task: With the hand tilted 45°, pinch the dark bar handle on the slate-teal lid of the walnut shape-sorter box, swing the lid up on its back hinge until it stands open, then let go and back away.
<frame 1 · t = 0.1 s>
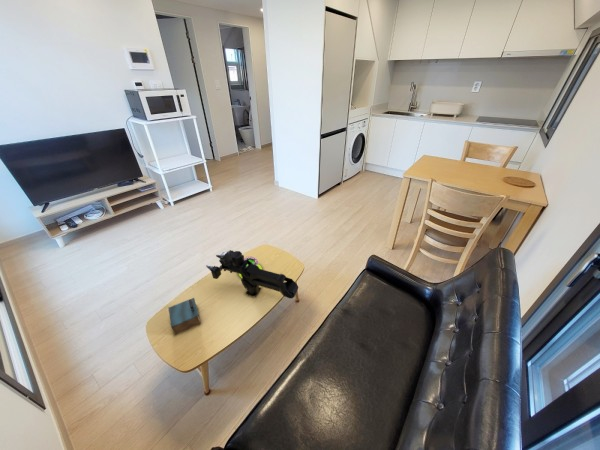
hand: (211, 260, 138), 17 cm above the table, tool horizontal, fingers open, 9 cm apart
sorter box: (186, 319, 124), on the table
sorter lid: (182, 309, 120), point 8 cm above the table, hinge at 0.0°
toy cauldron: (250, 271, 154), on the table
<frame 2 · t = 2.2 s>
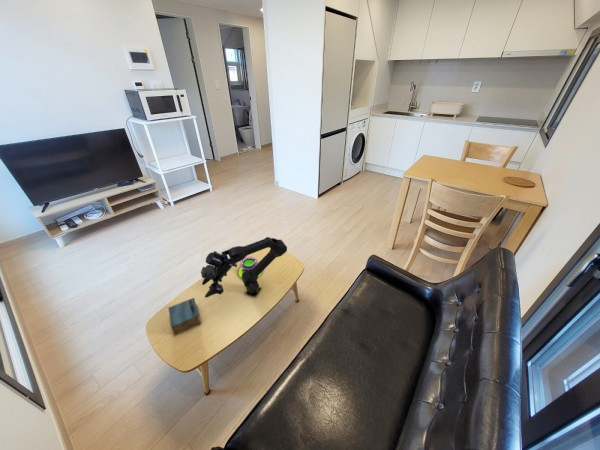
hand: (203, 290, 123), 14 cm above the table, tool tilted 50°, fingers open, 9 cm apart
nothing on the table moved.
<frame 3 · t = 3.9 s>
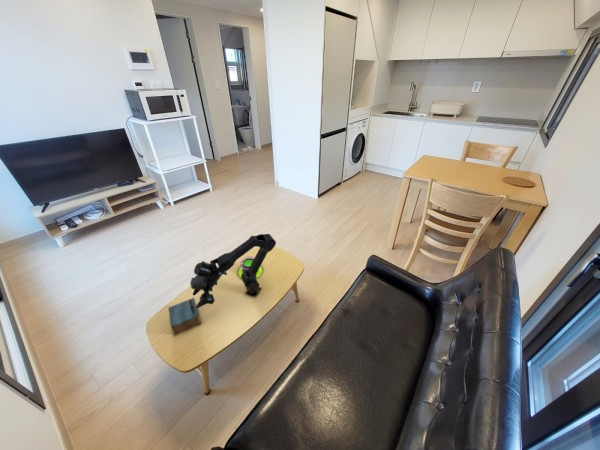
hand: (195, 301, 121), 11 cm above the table, tool tilted 45°, fingers open, 9 cm apart
nothing on the table moved.
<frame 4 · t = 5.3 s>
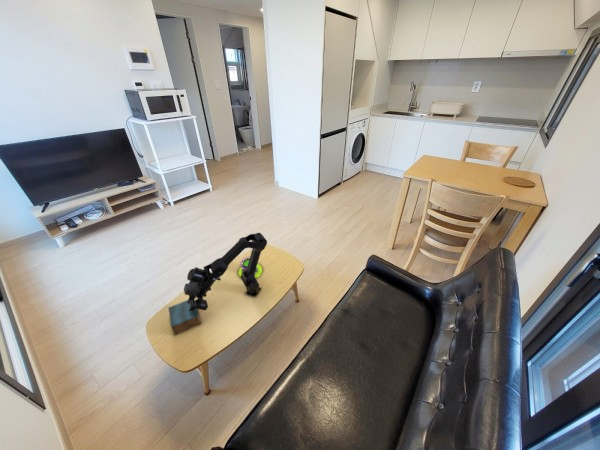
hand: (189, 306, 121), 8 cm above the table, tool tilted 45°, fingers closed on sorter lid, 5 cm apart
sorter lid: (182, 309, 120), point 8 cm above the table, hinge at 0.0°, touching gripper
everything else where it was.
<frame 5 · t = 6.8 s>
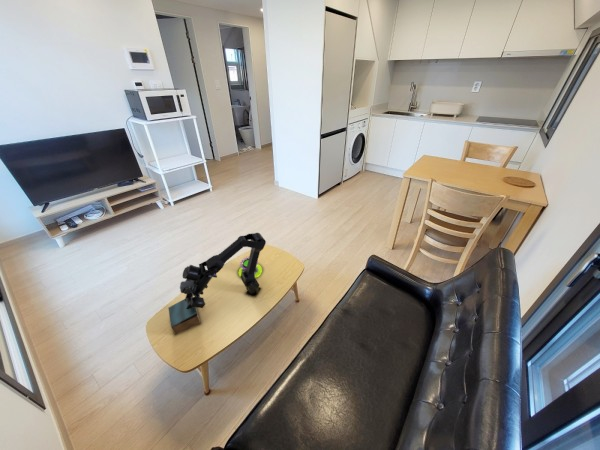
hand: (186, 304, 120), 10 cm above the table, tool tilted 40°, fingers closed on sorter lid, 5 cm apart
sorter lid: (180, 308, 119), point 10 cm above the table, hinge at 11.5°, touching gripper
everything else where it was.
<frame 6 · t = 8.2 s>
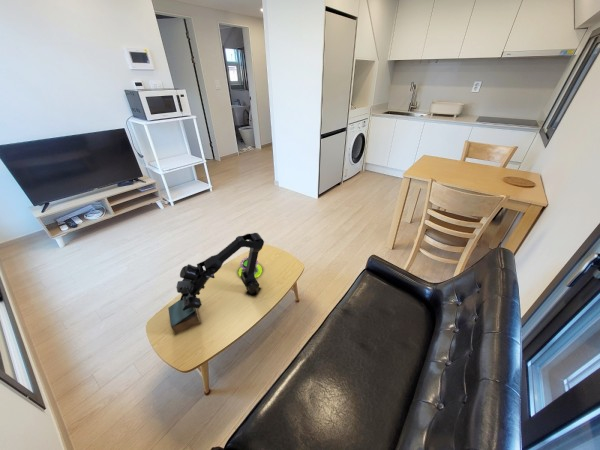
hand: (182, 305, 118), 12 cm above the table, tool tilted 45°, fingers open, 7 cm apart
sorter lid: (178, 307, 118), point 11 cm above the table, hinge at 21.6°
everything else where it was.
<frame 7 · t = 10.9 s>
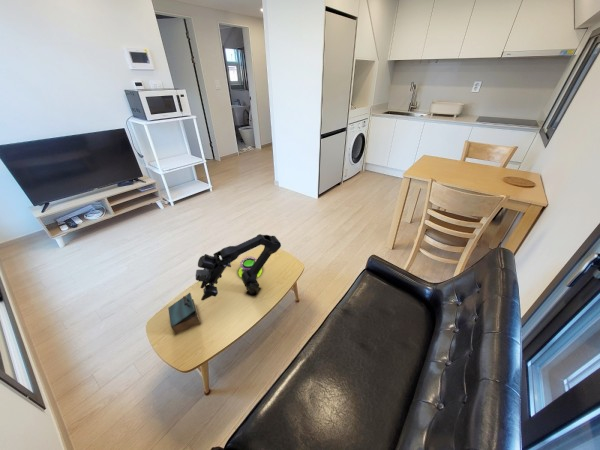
hand: (201, 293, 122), 13 cm above the table, tool tilted 40°, fingers open, 9 cm apart
nothing on the table moved.
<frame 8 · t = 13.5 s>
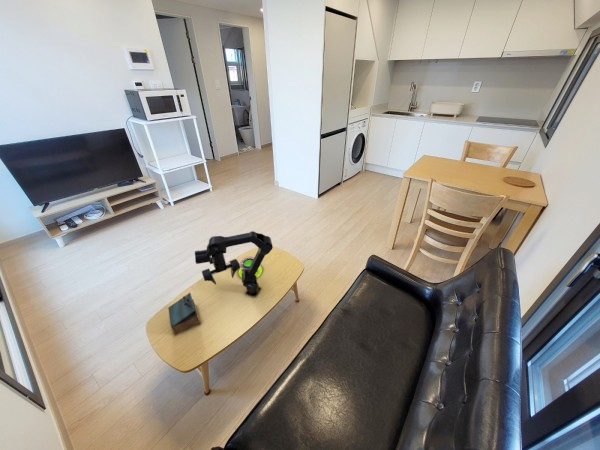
hand: (224, 280, 130), 13 cm above the table, tool pointing down, fingers open, 9 cm apart
nothing on the table moved.
at the end: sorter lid reached +22° during the clip, +22° at the end; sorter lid at +22° (first picture: +0°) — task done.
